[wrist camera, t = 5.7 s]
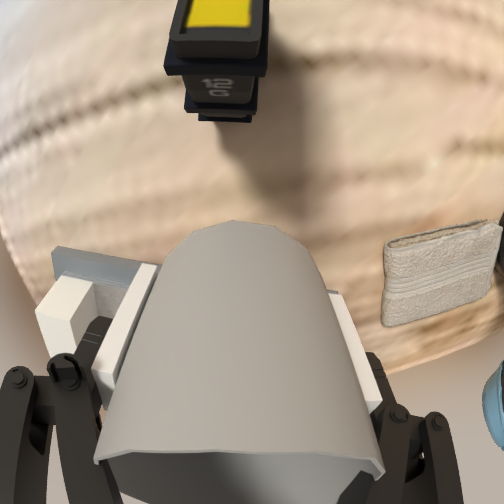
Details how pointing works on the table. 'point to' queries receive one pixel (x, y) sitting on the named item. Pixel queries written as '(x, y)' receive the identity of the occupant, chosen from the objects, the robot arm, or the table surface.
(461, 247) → the washcloth
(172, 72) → the black ribbed block
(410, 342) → the table surface
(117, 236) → the table surface
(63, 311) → the block
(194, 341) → the cup
